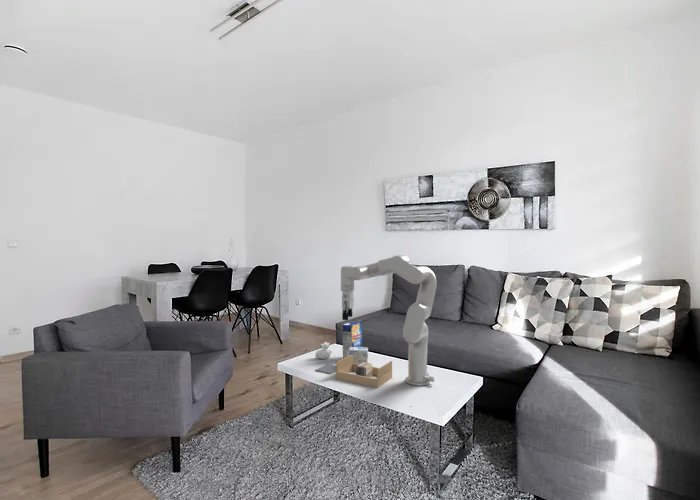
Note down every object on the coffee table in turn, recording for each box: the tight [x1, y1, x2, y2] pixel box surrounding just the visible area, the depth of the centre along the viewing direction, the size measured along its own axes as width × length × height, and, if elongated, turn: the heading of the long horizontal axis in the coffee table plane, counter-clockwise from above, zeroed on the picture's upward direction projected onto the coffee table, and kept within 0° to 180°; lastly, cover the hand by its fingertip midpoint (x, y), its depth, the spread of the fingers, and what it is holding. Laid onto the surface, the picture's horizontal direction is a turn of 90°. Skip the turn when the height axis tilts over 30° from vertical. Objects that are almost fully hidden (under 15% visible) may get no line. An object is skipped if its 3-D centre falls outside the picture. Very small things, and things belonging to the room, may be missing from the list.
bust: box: [315, 341, 333, 360], centre depth 245 cm, size 12×8×11 cm
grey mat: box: [315, 363, 336, 375], centre depth 225 cm, size 10×12×1 cm
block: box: [355, 362, 373, 378], centre depth 211 cm, size 5×9×7 cm, turn 149°
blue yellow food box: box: [342, 321, 363, 359], centre depth 243 cm, size 7×11×22 cm, turn 143°
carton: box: [335, 354, 393, 389], centre depth 211 cm, size 25×17×9 cm
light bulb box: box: [349, 346, 369, 364], centre depth 230 cm, size 11×7×11 cm, turn 84°
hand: (347, 318), depth 225 cm, fingers open, 9 cm apart
